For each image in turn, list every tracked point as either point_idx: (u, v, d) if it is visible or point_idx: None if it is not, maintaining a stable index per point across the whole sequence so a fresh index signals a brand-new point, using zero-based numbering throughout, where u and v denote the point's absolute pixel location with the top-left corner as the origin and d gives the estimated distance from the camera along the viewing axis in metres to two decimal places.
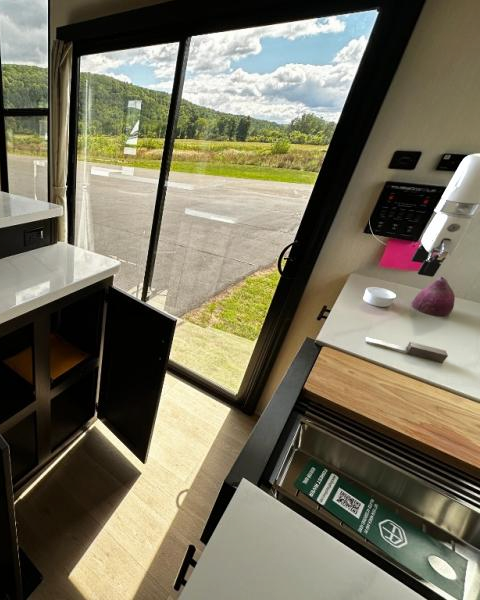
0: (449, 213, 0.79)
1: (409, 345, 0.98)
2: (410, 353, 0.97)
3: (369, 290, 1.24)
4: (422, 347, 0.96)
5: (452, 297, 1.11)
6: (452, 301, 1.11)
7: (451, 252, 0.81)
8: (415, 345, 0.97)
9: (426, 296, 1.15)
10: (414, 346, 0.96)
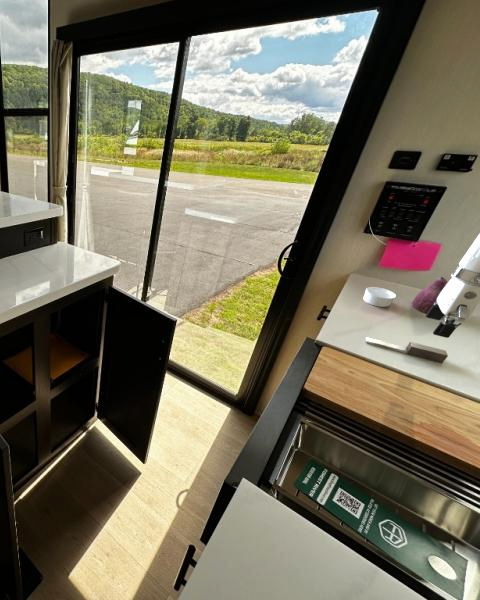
0: (466, 281, 0.82)
1: (409, 345, 0.98)
2: (410, 353, 0.97)
3: (369, 290, 1.24)
4: (422, 347, 0.96)
5: None
6: None
7: (467, 317, 0.84)
8: (415, 345, 0.97)
9: (426, 296, 1.15)
10: (414, 346, 0.96)
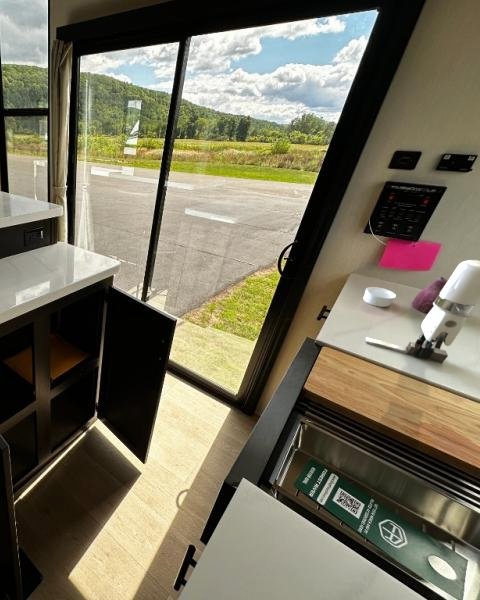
0: (446, 310, 0.87)
1: (409, 345, 0.98)
2: (410, 353, 0.97)
3: (369, 290, 1.24)
4: None
5: None
6: None
7: (448, 344, 0.88)
8: (415, 345, 0.97)
9: (426, 296, 1.15)
10: (414, 346, 0.96)
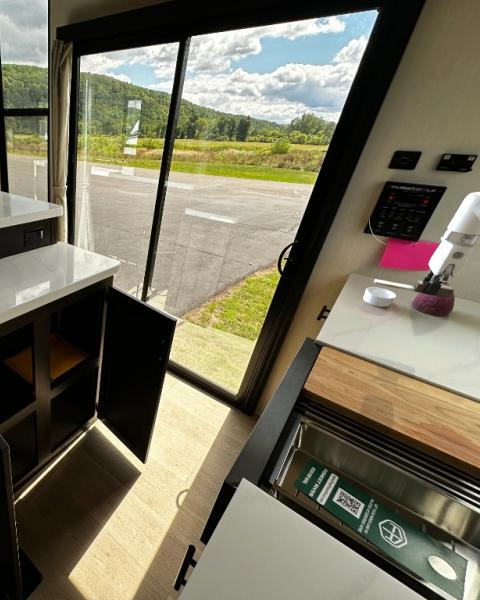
0: (454, 242, 0.90)
1: (417, 283, 1.02)
2: (418, 290, 1.01)
3: (369, 290, 1.24)
4: None
5: (452, 297, 1.11)
6: (452, 301, 1.11)
7: (455, 276, 0.92)
8: (423, 282, 1.01)
9: (426, 296, 1.15)
10: (422, 283, 1.00)
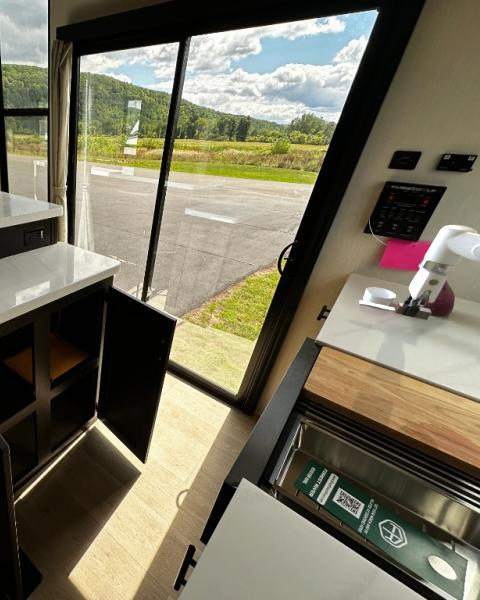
0: (430, 270, 0.98)
1: (398, 305, 1.09)
2: (398, 312, 1.09)
3: (369, 290, 1.24)
4: None
5: (452, 297, 1.11)
6: (452, 301, 1.11)
7: (432, 301, 1.00)
8: (403, 305, 1.08)
9: None
10: (402, 306, 1.08)
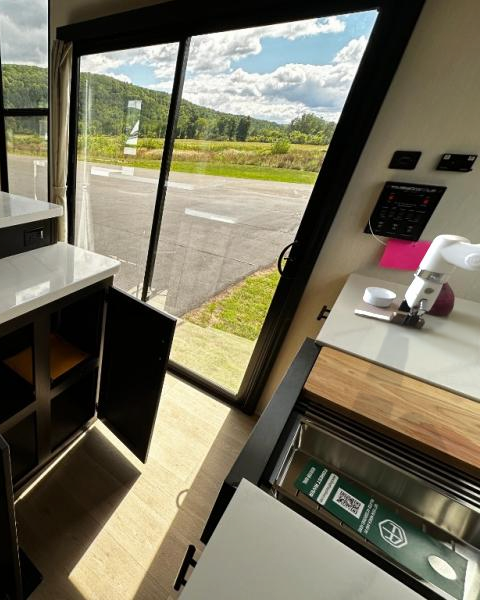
0: (425, 279, 1.00)
1: (392, 315, 1.11)
2: (393, 322, 1.11)
3: (369, 290, 1.24)
4: (403, 316, 1.09)
5: (452, 297, 1.11)
6: (452, 301, 1.11)
7: (428, 309, 1.01)
8: (397, 314, 1.10)
9: None
10: (396, 315, 1.10)
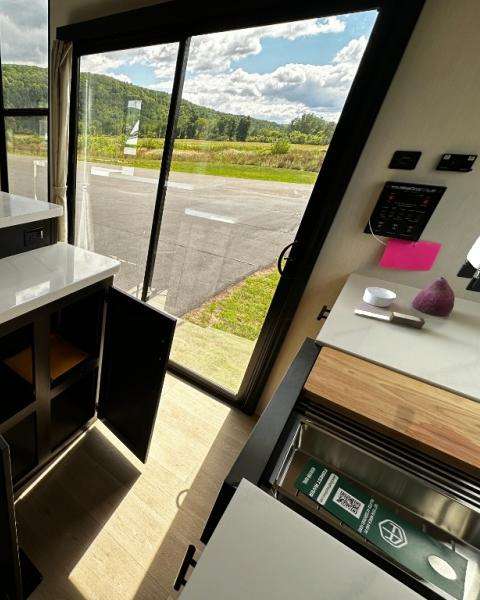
0: None
1: (392, 315, 1.11)
2: (393, 322, 1.11)
3: (369, 290, 1.24)
4: (403, 316, 1.09)
5: (452, 297, 1.11)
6: (452, 301, 1.11)
7: None
8: (397, 314, 1.10)
9: (426, 296, 1.15)
10: (396, 315, 1.10)
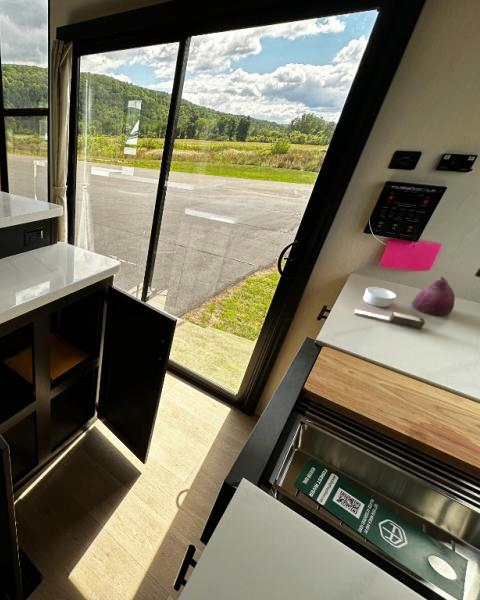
0: None
1: (392, 315, 1.11)
2: (393, 322, 1.11)
3: (369, 290, 1.24)
4: (403, 316, 1.09)
5: (452, 297, 1.11)
6: (452, 301, 1.11)
7: None
8: (397, 314, 1.10)
9: (426, 296, 1.15)
10: (396, 315, 1.10)
